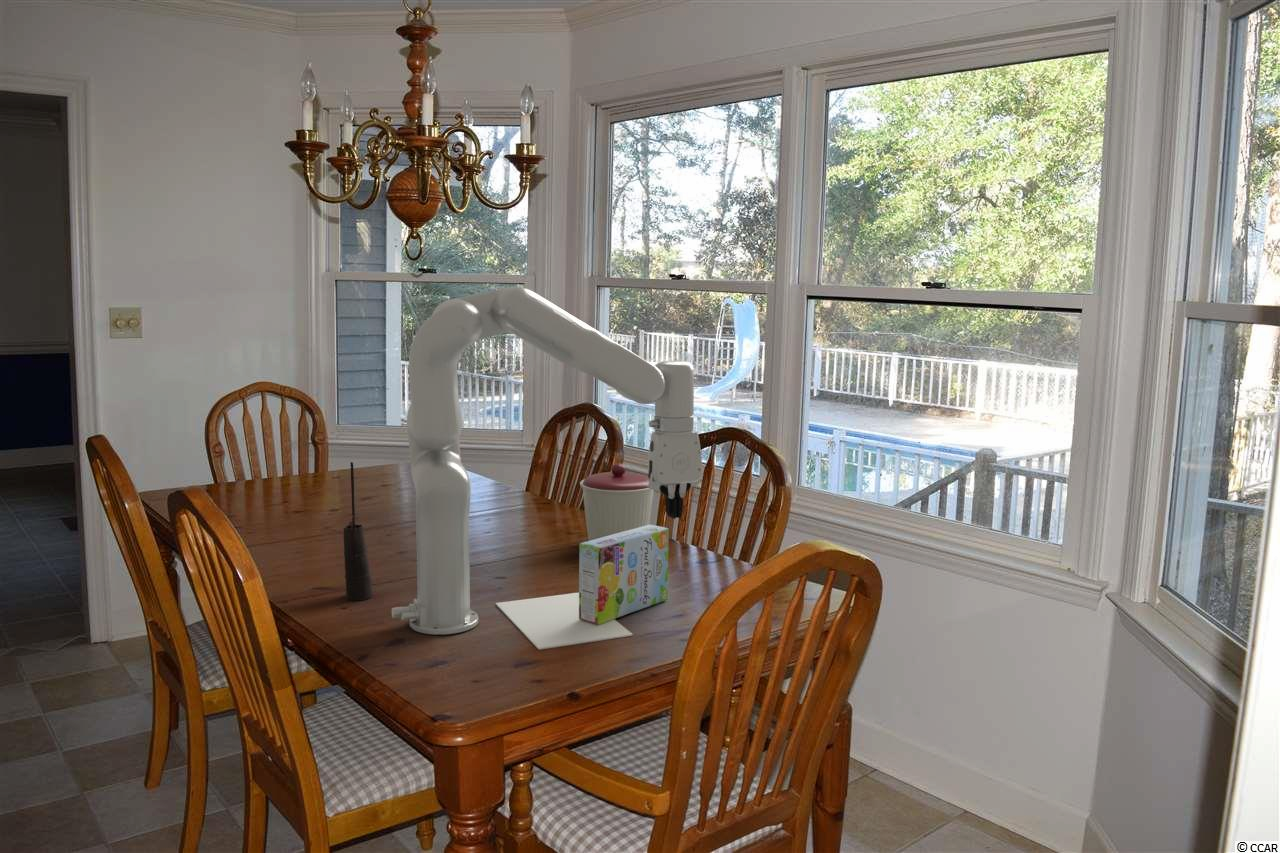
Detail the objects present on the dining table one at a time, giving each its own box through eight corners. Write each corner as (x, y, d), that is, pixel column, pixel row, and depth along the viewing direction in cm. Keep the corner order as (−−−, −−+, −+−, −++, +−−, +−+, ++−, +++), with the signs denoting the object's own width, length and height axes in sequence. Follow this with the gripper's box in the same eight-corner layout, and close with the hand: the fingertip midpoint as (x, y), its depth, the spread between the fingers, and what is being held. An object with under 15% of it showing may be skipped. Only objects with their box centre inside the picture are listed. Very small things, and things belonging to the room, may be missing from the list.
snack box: (646, 594, 204) (649, 523, 202) (668, 600, 200) (671, 528, 198) (576, 619, 188) (578, 541, 185) (598, 626, 184) (600, 547, 182)
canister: (586, 563, 226) (587, 472, 223) (573, 542, 243) (574, 457, 240) (663, 559, 230) (665, 469, 227) (645, 538, 247) (646, 455, 244)
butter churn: (339, 588, 205) (335, 454, 201) (386, 588, 206) (383, 455, 201) (328, 602, 196) (323, 463, 192) (377, 602, 197) (373, 463, 192)
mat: (538, 649, 173) (538, 648, 173) (495, 604, 196) (495, 603, 196) (632, 635, 181) (632, 634, 181) (580, 593, 204) (580, 592, 204)
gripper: (647, 430, 186) (647, 525, 189) (717, 424, 192) (716, 516, 195) (631, 424, 193) (631, 516, 196) (699, 419, 199) (698, 508, 202)
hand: (674, 516), depth 196 cm, fingers closed
